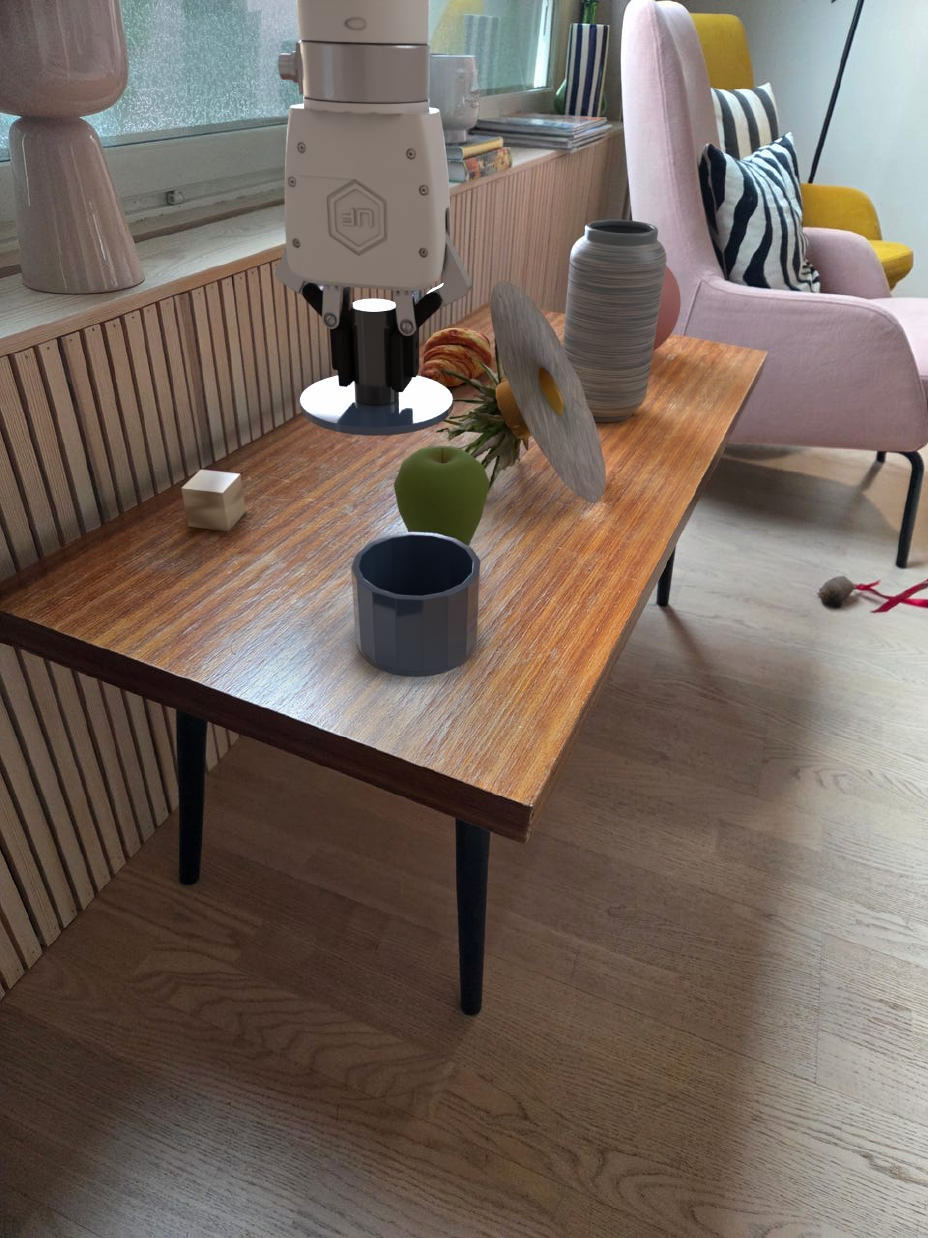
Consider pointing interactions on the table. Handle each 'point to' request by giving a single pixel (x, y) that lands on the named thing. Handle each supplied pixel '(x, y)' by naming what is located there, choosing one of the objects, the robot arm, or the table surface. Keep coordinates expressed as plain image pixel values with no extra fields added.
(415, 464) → the apple
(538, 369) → the grey leafy disc
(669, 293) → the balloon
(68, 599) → the table surface
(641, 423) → the table surface
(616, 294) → the vase
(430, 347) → the croissant
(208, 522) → the block
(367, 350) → the lid
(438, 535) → the pot
